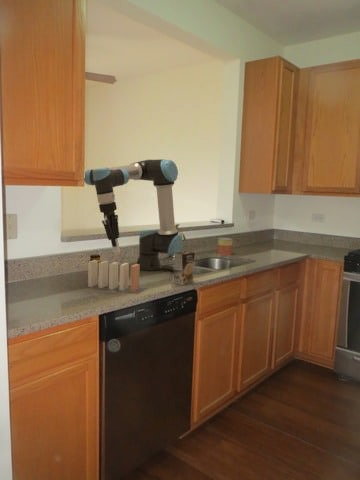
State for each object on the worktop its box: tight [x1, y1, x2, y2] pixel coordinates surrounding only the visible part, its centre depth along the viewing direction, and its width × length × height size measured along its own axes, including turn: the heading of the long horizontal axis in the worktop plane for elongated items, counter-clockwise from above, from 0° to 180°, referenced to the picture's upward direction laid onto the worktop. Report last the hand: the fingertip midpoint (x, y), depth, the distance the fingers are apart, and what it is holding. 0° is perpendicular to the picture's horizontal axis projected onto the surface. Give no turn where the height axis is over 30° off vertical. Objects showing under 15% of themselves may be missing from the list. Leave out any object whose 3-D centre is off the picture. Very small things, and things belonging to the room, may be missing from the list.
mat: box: [80, 283, 148, 295], centre depth 189 cm, size 11×30×1 cm, turn 73°
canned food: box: [216, 237, 234, 256], centre depth 299 cm, size 11×11×12 cm
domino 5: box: [129, 263, 141, 292], centre depth 185 cm, size 2×6×12 cm, turn 163°
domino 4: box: [119, 262, 130, 291], centre depth 186 cm, size 2×6×12 cm, turn 163°
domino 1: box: [87, 260, 98, 287], centre depth 191 cm, size 2×6×12 cm, turn 162°
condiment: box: [88, 253, 102, 270], centre depth 211 cm, size 7×8×12 cm
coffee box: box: [172, 250, 195, 286], centre depth 205 cm, size 9×6×16 cm
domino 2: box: [98, 260, 109, 288], centre depth 190 cm, size 2×6×12 cm, turn 162°
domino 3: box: [108, 261, 119, 289], centre depth 188 cm, size 2×6×12 cm, turn 163°
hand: (116, 252), depth 184 cm, fingers closed
